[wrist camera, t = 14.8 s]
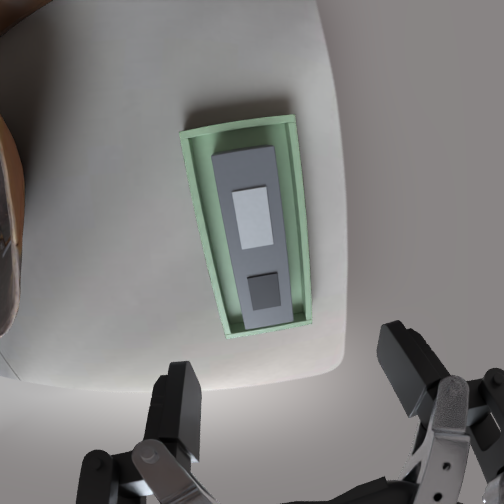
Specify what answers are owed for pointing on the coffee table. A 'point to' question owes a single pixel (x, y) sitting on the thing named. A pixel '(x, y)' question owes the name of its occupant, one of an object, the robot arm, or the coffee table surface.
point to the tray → (211, 223)
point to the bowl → (10, 227)
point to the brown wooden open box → (17, 12)
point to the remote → (255, 232)
